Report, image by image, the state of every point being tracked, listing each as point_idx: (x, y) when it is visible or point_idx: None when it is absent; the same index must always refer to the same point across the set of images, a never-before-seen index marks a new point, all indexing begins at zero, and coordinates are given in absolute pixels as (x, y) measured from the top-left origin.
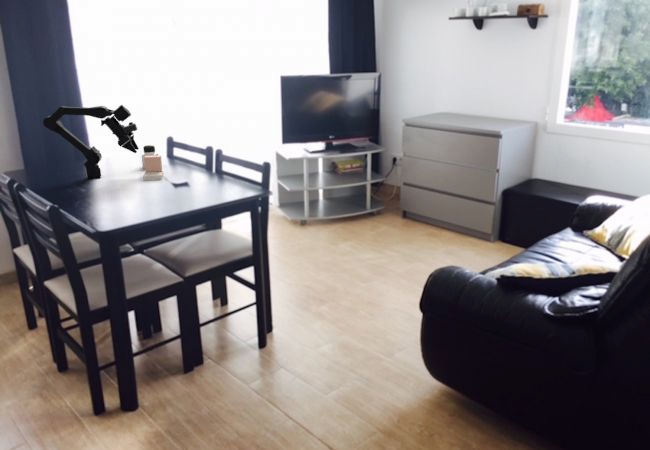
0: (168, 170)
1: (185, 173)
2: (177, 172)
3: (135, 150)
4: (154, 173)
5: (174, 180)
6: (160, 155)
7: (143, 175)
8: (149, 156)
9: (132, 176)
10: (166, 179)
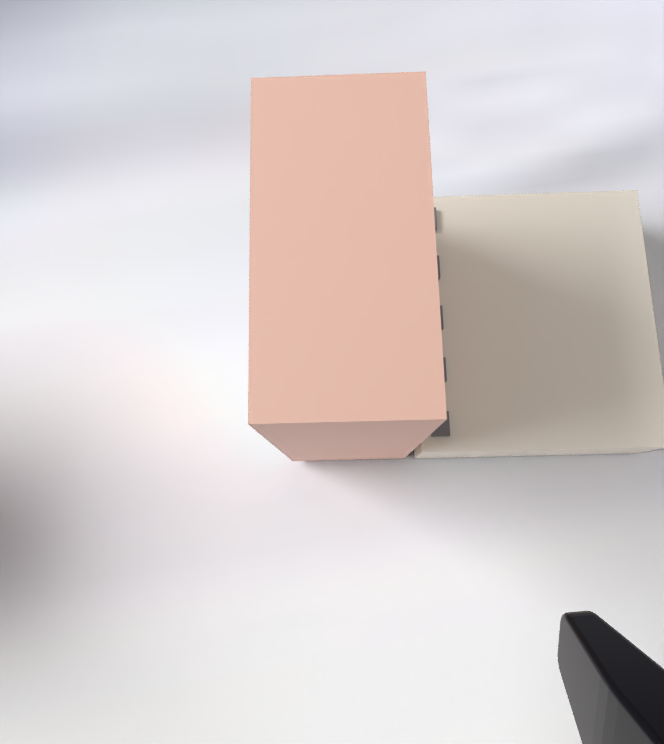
0: (62, 220)
1: (277, 3)
2: (205, 97)
3: (647, 663)
4: (521, 301)
5: (638, 73)
6: (260, 86)
7: (653, 444)
8: (344, 308)
9: (361, 676)
10: (581, 170)
